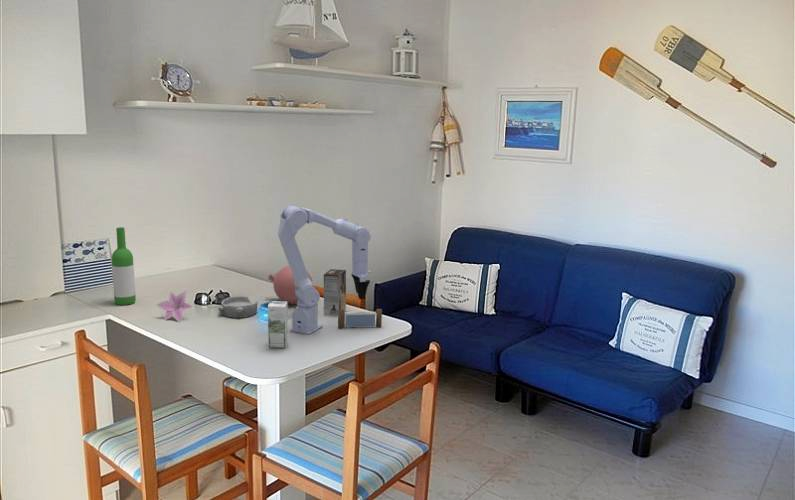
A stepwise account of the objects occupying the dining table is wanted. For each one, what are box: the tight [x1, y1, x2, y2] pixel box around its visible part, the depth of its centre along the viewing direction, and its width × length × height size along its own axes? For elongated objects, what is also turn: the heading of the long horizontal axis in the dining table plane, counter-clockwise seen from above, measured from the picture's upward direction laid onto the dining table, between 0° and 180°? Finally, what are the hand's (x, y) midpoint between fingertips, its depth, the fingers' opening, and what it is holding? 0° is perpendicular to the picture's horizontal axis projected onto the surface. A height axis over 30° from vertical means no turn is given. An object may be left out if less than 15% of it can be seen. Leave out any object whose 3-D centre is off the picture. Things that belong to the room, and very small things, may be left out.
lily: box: [156, 289, 193, 323], centre depth 236 cm, size 12×12×10 cm
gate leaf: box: [345, 311, 376, 328], centre depth 230 cm, size 11×2×5 cm, turn 98°
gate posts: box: [337, 308, 383, 330], centre depth 230 cm, size 16×2×6 cm, turn 98°
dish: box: [217, 295, 258, 319], centre depth 243 cm, size 14×14×5 cm
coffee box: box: [323, 268, 347, 317], centre depth 245 cm, size 9×6×16 cm
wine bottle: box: [111, 226, 137, 306], centre depth 249 cm, size 8×8×30 cm
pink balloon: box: [268, 265, 313, 305], centre depth 257 cm, size 15×20×15 cm
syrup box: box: [267, 300, 289, 349], centre depth 209 cm, size 6×6×14 cm
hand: (360, 295), depth 235 cm, fingers open, 7 cm apart
